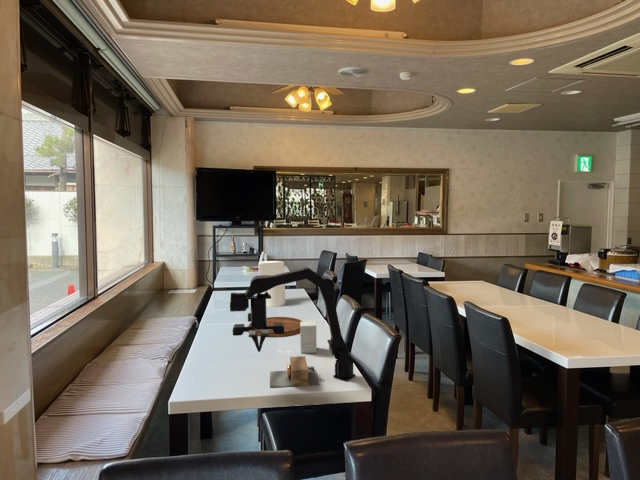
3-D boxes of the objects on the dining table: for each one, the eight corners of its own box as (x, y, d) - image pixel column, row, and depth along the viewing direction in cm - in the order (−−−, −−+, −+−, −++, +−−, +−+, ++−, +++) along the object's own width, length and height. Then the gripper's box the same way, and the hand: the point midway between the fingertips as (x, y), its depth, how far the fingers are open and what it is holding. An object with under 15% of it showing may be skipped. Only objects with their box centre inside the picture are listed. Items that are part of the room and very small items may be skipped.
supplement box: (316, 347, 196) (316, 321, 195) (316, 353, 189) (316, 325, 188) (300, 347, 196) (300, 321, 195) (300, 353, 188) (300, 325, 187)
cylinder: (256, 302, 286) (255, 261, 284) (280, 299, 293) (279, 260, 291) (263, 308, 271) (263, 265, 268) (289, 305, 278) (288, 263, 275)
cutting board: (292, 340, 207) (292, 335, 207) (235, 334, 217) (235, 329, 217) (314, 323, 237) (314, 319, 237) (263, 318, 247) (263, 314, 247)
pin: (313, 373, 164) (313, 361, 164) (314, 378, 160) (314, 366, 159) (287, 374, 163) (287, 363, 163) (287, 379, 159) (287, 367, 158)
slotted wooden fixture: (315, 370, 169) (314, 355, 169) (318, 385, 155) (318, 369, 155) (270, 372, 167) (269, 357, 167) (269, 387, 153) (269, 371, 153)
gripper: (283, 304, 164) (283, 343, 166) (234, 305, 162) (235, 345, 163) (284, 311, 153) (284, 353, 155) (232, 313, 151) (232, 355, 152)
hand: (259, 351), depth 157 cm, fingers closed
